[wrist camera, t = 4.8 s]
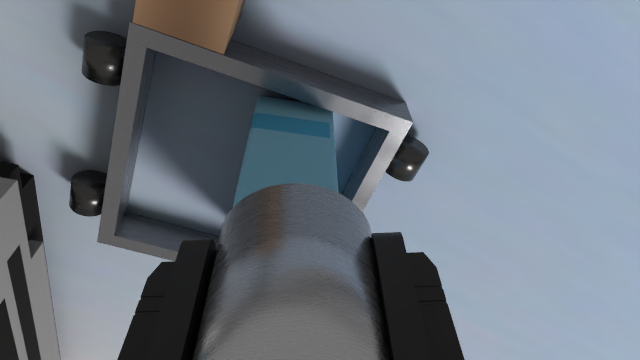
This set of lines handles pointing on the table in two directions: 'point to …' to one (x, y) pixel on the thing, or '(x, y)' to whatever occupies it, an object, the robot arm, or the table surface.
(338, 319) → the metal cylinder
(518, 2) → the table surface
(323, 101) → the grey shallow tray
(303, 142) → the data package
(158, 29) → the walnut block
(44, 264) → the game console
